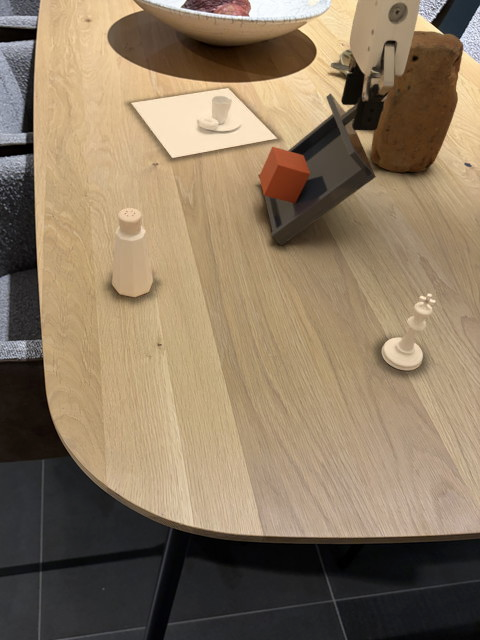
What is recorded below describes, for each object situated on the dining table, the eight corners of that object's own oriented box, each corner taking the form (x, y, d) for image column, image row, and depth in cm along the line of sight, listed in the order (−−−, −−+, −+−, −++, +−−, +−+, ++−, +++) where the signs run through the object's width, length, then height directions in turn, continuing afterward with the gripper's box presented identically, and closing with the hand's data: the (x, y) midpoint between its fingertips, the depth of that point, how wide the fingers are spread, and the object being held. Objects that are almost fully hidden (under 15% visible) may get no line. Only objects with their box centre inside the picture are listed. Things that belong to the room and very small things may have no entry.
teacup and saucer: (204, 137, 105) (205, 114, 102) (186, 116, 109) (187, 93, 106) (248, 129, 107) (251, 107, 104) (229, 108, 112) (231, 86, 109)
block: (366, 168, 101) (403, 42, 86) (368, 146, 106) (403, 22, 91) (431, 179, 100) (481, 53, 85) (430, 156, 105) (477, 33, 90)
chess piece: (387, 335, 76) (412, 274, 68) (425, 349, 75) (456, 289, 67) (376, 361, 73) (402, 300, 65) (416, 376, 72) (447, 316, 64)
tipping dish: (381, 92, 86) (360, 62, 83) (412, 150, 76) (389, 119, 73) (267, 184, 96) (244, 161, 93) (281, 245, 87) (256, 222, 83)
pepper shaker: (150, 269, 82) (149, 199, 73) (155, 296, 78) (155, 226, 70) (110, 271, 81) (105, 201, 72) (113, 299, 77) (108, 228, 69)
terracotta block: (303, 155, 87) (272, 146, 86) (310, 173, 84) (278, 164, 82) (289, 184, 91) (258, 176, 89) (295, 203, 87) (263, 195, 86)
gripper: (455, -14, 61) (402, 150, 75) (408, -64, 72) (370, 87, 86) (383, -16, 61) (343, 149, 75) (347, -66, 72) (318, 86, 86)
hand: (358, 115), depth 80 cm, fingers closed on tipping dish, 6 cm apart
